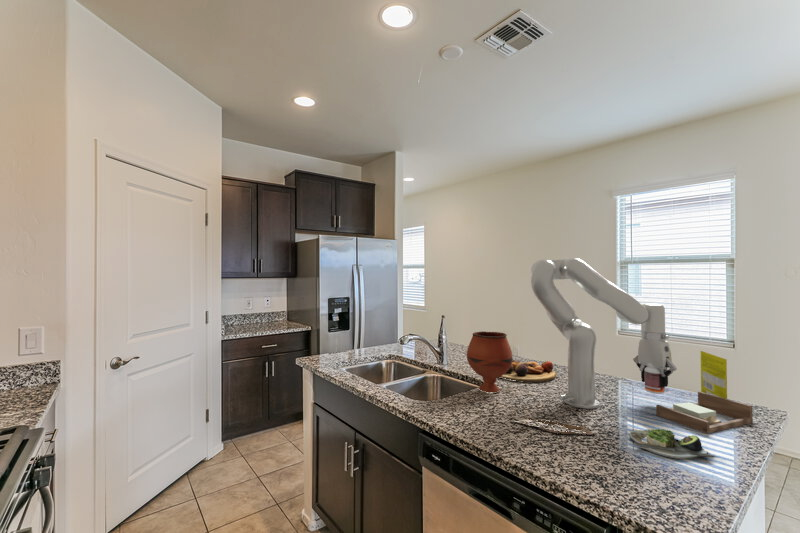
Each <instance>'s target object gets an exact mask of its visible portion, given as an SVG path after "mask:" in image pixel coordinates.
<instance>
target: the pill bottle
mask: <svg viewBox="0 0 800 533" xmlns="http://www.w3.org/2000/svg"><path fill="white" fill-rule="evenodd" d="M644 373H645V382H644V391H646V393H650V394H656V395H663V394H665V388H666V387H661V386H660V376H662V375H661V373H660V370H659V368H656V367H653V366H652V364H651V363H648V365H647V367H646V368H645V369H644Z"/></svg>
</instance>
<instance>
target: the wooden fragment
mask: <svg viewBox="0 0 800 533" xmlns="http://www.w3.org/2000/svg"><path fill="white" fill-rule="evenodd" d="M527 418H528V417H527ZM527 418H525V419H527ZM533 418H534V417H533ZM528 419H529V418H528ZM534 419H536V418H534ZM534 419H532V418H531V420H534ZM529 420H530V419H529ZM549 420H550V422H549V421H546V422H545V421H541V420H538V422H542V423H544V422H545V424H546V423H549V424H548V425H550V424H552V425H554V424H557V423H558V425H559V424H560V425H561V426H563V425H564V426H565V427H566V428H568V429H576V430H582V431H583V430H586V431H585V432H586V434H587V435H593V434H594V433H593V432H592V431H591V430H589V429H588V428H587V427H585V426H583V425H581V426H580V425H579V426H580V427H577V426H573V427H572V425H573V424H569V425H567V424H568V423H566V422H565V423H564V422H563V423H564V424H563V423H560V422H557V421H553V420H552V419H549ZM552 421H553V422H552ZM582 426H583V427H582ZM553 427H554V426H553ZM583 428H584V429H583ZM538 429H540V430H542V431H543V430H544V431H546V432H550V433H554V434H556V433H557V434H558V431H554V430H549V429H544V428H538ZM559 433H561V434H560V435H580V434H579V433H578V434H576V433H574V432H571V431H569V432H568V431H567V432H566V431H565V432H559ZM586 434H583V435H586ZM587 435H586V436H587Z"/></svg>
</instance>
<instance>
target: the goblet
mask: <svg viewBox="0 0 800 533" xmlns="http://www.w3.org/2000/svg"><path fill="white" fill-rule="evenodd" d="M466 351H467V352H466V359H467V362H468V365H469V366H470V368H471V370H472V371H473V372H475V374H477V375H478V376H480V377H482V381H483V383H482V384H481V385H480V386H478V390H479V389H480V390H482V391H486V392H497V391H500V389H499V387H498V386H497V384H496V382H497V379H499V378H498V377H500V376H502V375H504V374H505V373H506V372H507V371H508V370H509V368H510V367H511V365H512V361H513V357H514V356H513V352H512V349H511V346H510V343H509V341H508V338H507V334H506V333H504V332H498V331H475V332H473V333H472V337H471V340H470V342H469V344H468V347H467V350H466Z"/></svg>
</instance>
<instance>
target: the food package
mask: <svg viewBox="0 0 800 533" xmlns="http://www.w3.org/2000/svg"><path fill="white" fill-rule="evenodd" d="M727 365H728V363H727V359H726V358H723V357H720V356H717V355H714V354H711V353H709V352H706V351H703V350H700V392H703V393H707V394H711V395H714V396H718V397H722V398H725V399H728V378H727V377H728V373H727V372H728V371H727V370H728V366H727Z"/></svg>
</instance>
